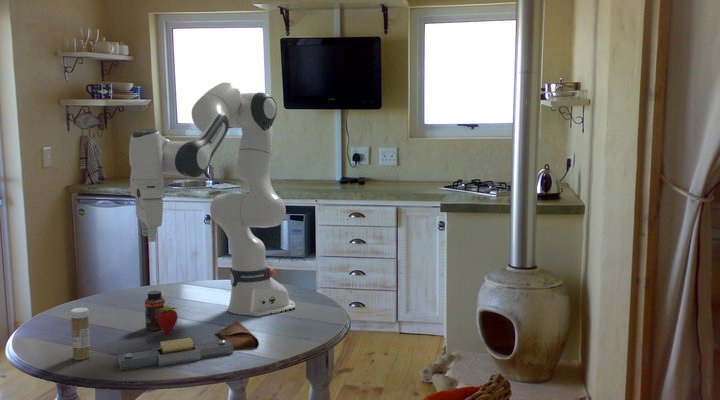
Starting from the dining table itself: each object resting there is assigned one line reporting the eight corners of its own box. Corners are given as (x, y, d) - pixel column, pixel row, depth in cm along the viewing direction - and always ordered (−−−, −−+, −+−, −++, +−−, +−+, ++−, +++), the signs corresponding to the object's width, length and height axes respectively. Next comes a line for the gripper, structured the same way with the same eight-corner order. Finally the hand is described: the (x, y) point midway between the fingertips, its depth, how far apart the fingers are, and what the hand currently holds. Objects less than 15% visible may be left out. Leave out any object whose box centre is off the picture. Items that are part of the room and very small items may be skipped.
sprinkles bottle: (69, 358, 194) (67, 309, 193) (85, 353, 198) (83, 306, 196) (78, 361, 191) (75, 312, 190) (94, 357, 195) (91, 309, 193)
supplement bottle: (170, 326, 222) (168, 290, 221) (157, 332, 217) (155, 295, 215) (154, 324, 225) (153, 288, 223) (141, 329, 219) (140, 293, 218)
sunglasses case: (211, 333, 215) (222, 313, 216) (231, 342, 219) (242, 322, 219) (230, 351, 200) (242, 330, 200) (251, 360, 203) (262, 339, 204)
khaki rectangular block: (190, 355, 197) (190, 337, 197) (193, 358, 195) (192, 340, 194) (160, 359, 194) (160, 341, 193) (163, 363, 191) (162, 345, 190)
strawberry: (176, 329, 219) (175, 297, 218) (179, 337, 212) (178, 304, 211) (156, 331, 217) (155, 299, 216) (159, 339, 210) (158, 306, 209)
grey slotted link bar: (226, 346, 204) (226, 336, 203) (234, 354, 197) (233, 343, 197) (118, 363, 191) (117, 351, 190) (122, 371, 184) (121, 360, 184)
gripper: (129, 185, 206) (131, 233, 208) (141, 193, 188) (143, 245, 189) (152, 184, 209) (153, 231, 210) (166, 192, 190) (167, 243, 192)
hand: (149, 238), depth 200 cm, fingers open, 8 cm apart
